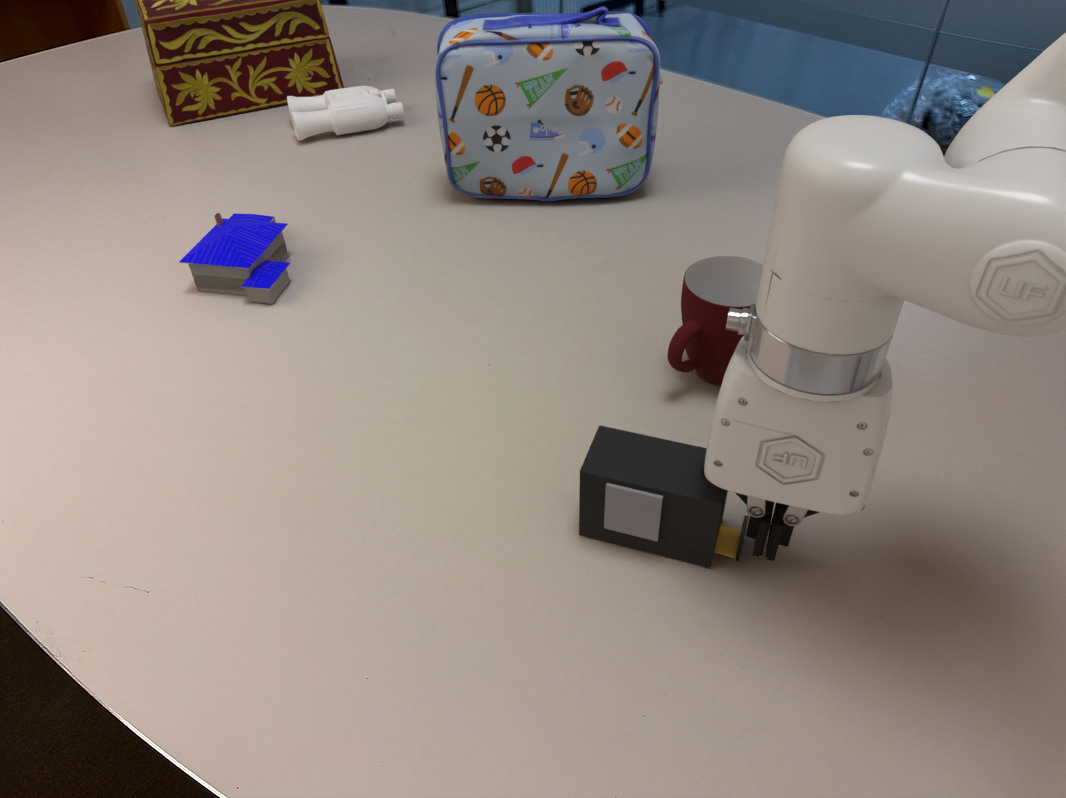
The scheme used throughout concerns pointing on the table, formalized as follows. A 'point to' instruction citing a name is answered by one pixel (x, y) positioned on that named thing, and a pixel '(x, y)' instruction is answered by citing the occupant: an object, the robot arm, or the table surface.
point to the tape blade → (731, 540)
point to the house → (241, 258)
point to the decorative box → (236, 54)
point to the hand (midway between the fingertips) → (765, 543)
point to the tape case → (650, 496)
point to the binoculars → (343, 111)
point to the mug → (712, 314)
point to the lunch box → (547, 104)
